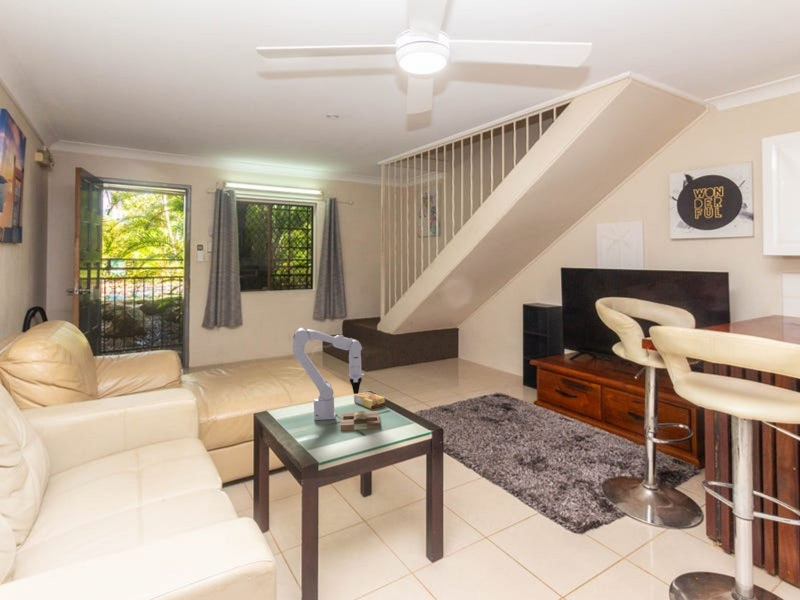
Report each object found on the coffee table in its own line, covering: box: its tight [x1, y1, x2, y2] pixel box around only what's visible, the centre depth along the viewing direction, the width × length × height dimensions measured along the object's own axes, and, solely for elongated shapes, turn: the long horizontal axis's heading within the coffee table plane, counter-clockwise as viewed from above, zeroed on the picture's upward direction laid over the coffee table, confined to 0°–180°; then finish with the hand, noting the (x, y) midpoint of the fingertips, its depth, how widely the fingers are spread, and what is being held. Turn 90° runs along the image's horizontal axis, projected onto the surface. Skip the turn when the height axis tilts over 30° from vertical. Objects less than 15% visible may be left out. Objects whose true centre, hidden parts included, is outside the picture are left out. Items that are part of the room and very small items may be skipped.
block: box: [354, 410, 365, 419], centre depth 186 cm, size 4×4×4 cm
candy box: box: [353, 390, 386, 409], centre depth 218 cm, size 9×4×15 cm
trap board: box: [340, 410, 381, 431], centre depth 191 cm, size 16×17×4 cm
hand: (356, 393), depth 203 cm, fingers closed
